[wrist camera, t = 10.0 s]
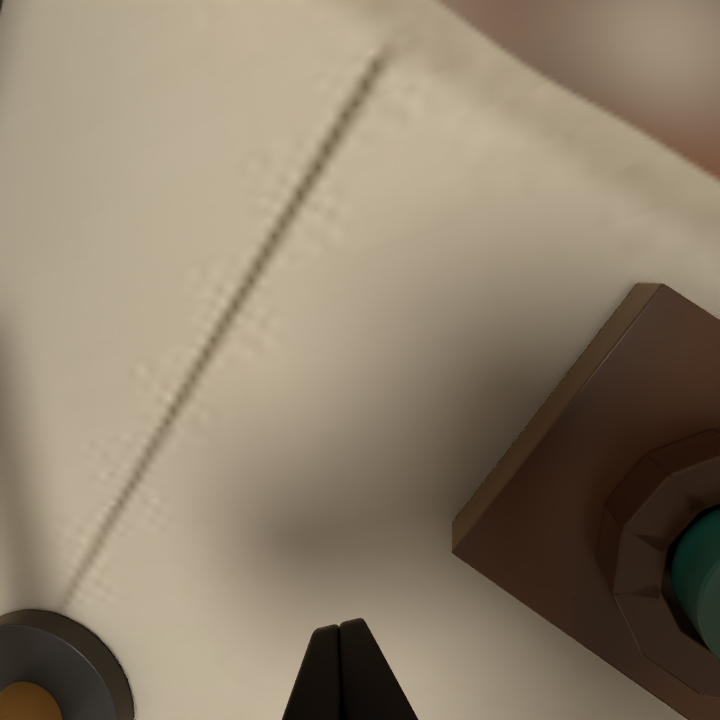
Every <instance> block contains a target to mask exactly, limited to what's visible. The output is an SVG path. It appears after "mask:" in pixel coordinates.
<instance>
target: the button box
mask: <svg viewBox="0 0 720 720" xmlns="http://www.w3.org/2000/svg"><path fill="white" fill-rule="evenodd" d="M719 508H720V320H719V319H718V318H716V317H714V316H713V315H711V314H710V313H708V312H707V311H705V310H704V309H702V308H701V307H699V306H697V305H696V304H694V303H693V302H691V301H690V300H688V299H687V298H685V297H684V296H682V295H680V294H679V293H677V292H676V291H674V290H673V289H671V288H670V287H668V286H667V285H665V284H657V283H637V284H636V285H635V287H634V288H633V289H632V291H631V292H630V293H629V294H628V296H627V297H626V298H625V300H624V301H623V302H622V303H621V305H620V306H619V307H618V309H617V310H616V311H615V313H614V314H613V315H612V316H611V318H610V319H609V320H608V322H607V323H606V324H605V325H604V327H603V328H602V329H601V331H600V332H599V333H598V334H597V336H596V337H595V338H594V340H593V341H592V342H591V344H590V345H589V346H588V347H587V349H586V350H585V351H584V353H583V354H582V355H581V356H580V358H579V359H578V360H577V362H576V363H575V364H574V366H573V367H572V368H571V369H570V371H569V372H568V373H567V375H566V376H565V377H564V378H563V380H562V381H561V382H560V384H559V385H558V386H557V388H556V389H555V390H554V391H553V393H552V394H551V395H550V397H549V398H548V399H547V400H546V402H545V403H544V404H543V406H542V407H541V408H540V410H539V411H538V412H537V413H536V415H535V416H534V417H533V419H532V420H531V421H530V422H529V424H528V425H527V426H526V428H525V429H524V430H523V432H522V433H521V434H520V435H519V437H518V438H517V439H516V441H515V442H514V443H513V444H512V446H511V447H510V448H509V450H508V451H507V452H506V454H505V455H504V456H503V457H502V459H501V460H500V461H499V463H498V464H497V465H496V466H495V468H494V469H493V470H492V472H491V473H490V474H489V476H488V477H487V478H486V479H485V481H484V482H483V483H482V485H481V486H480V487H479V488H478V490H477V491H476V492H475V494H474V495H473V496H472V498H471V499H470V500H469V501H468V503H467V504H466V505H465V507H464V508H463V509H462V510H461V512H460V513H459V514H458V516H457V517H456V518H455V520H454V521H453V522H452V553H453V554H454V555H455V556H457V557H458V558H460V559H461V560H462V561H464V562H465V563H467V564H468V565H470V566H471V567H472V568H474V569H475V570H477V571H478V572H479V573H481V574H482V575H484V576H485V577H487V578H488V579H489V580H491V581H492V582H494V583H495V584H497V585H498V586H499V587H501V588H502V589H504V590H505V591H506V592H508V593H509V594H511V595H512V596H514V597H515V598H516V599H518V600H519V601H521V602H522V603H523V604H525V605H526V606H528V607H529V608H531V609H532V610H533V611H535V612H536V613H538V614H539V615H540V616H542V617H543V618H545V619H546V620H548V621H549V622H550V623H552V624H553V625H555V626H556V627H558V628H559V629H560V630H562V631H563V632H565V633H566V634H567V635H569V636H570V637H572V638H573V639H575V640H576V641H577V642H579V643H580V644H582V645H583V646H584V647H586V648H587V649H589V650H590V651H592V652H593V653H594V654H596V655H597V656H599V657H600V658H601V659H603V660H604V661H606V662H607V663H609V664H610V665H611V666H613V667H614V668H616V669H617V670H618V671H620V672H621V673H623V674H624V675H626V676H627V677H628V678H630V679H631V680H633V681H634V682H636V683H637V684H638V685H640V686H641V687H643V688H644V689H645V690H647V691H648V692H650V693H651V694H653V695H654V696H655V697H657V698H658V699H660V700H661V701H662V702H664V703H665V704H667V705H668V706H670V707H671V708H672V709H674V710H675V711H677V712H678V713H679V714H681V715H682V716H684V717H685V718H687V719H688V720H720V661H719V660H718V659H717V658H716V657H715V656H714V655H713V653H712V652H711V651H710V649H709V648H708V646H707V645H706V644H705V642H704V641H703V639H702V638H701V636H700V635H699V633H698V632H697V630H696V629H695V627H694V626H693V624H692V623H691V621H690V620H689V618H688V617H687V616H686V614H685V613H684V611H683V610H682V608H681V606H680V605H679V603H678V601H677V599H676V596H675V594H674V591H673V586H672V581H671V566H672V560H673V556H674V553H675V550H676V548H677V545H678V543H679V542H680V540H681V538H682V537H683V535H684V534H685V533H686V532H687V530H688V529H689V528H690V527H691V526H692V525H693V524H694V523H695V522H697V521H698V520H699V519H701V518H702V517H703V516H705V515H707V514H708V513H710V512H712V511H714V510H716V509H719Z"/></svg>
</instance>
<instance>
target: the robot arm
mask: <svg viewBox="0 0 720 720" xmlns="http://www.w3.org/2000/svg"><path fill="white" fill-rule="evenodd" d="M282 720H418V718H417V716H416V714H415V713H414V711H413V709H412V707H411V705H410V703H409V701H408V700H407V698H406V696H405V694H404V692H403V690H402V689H401V687H400V685H399V683H398V681H397V679H396V677H395V676H394V674H393V672H392V670H391V668H390V666H389V665H388V663H387V661H386V659H385V657H384V655H383V653H382V652H381V650H380V648H379V646H378V644H377V642H376V640H375V639H374V637H373V635H372V633H371V631H370V629H369V628H368V626H367V624H366V622H365V621H364V619H362V618H357V619H353V620H349V621H345V622H343V623H341V624H340V627H339V626H338V625H336V624H333V625H329V626H325V627H322V628H318V629H316V630H315V631H314V632H313V634H312V636H311V639H310V642H309V644H308V647H307V650H306V653H305V656H304V658H303V661H302V664H301V667H300V670H299V673H298V675H297V678H296V681H295V684H294V687H293V689H292V692H291V695H290V698H289V701H288V704H287V706H286V709H285V712H284V715H283V718H282Z"/></svg>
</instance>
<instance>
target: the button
mask: <svg viewBox="0 0 720 720" xmlns="http://www.w3.org/2000/svg"><path fill="white" fill-rule="evenodd" d="M671 581H672V586H673V591H674V594H675V596H676V599H677V601H678V603H679V605H680V606H681V608H682V610H683V611H684V613H685V614H686V616H687V617H688V618H689V620H690V621H691V623H692V624H693V626H694V627H695V629H696V630H697V632H698V633H699V635H700V636H701V638H702V639H703V641H704V642H705V644H706V645H707V646H708V648H709V649H710V651H711V652H712V653H713V655H714V656H715V657H716V658H717V659H718V660H719V661H720V508H719V509H716V510H714V511H712V512H710V513H708V514H707V515H705V516H703V517H702V518H701V519H699V520H698V521H697V522H695V523H694V524H693V525H692V526H691V527H690V528H689V529H688V530H687V532H686V533H685V534H684V535H683V537H682V538H681V540H680V542H679V543H678V545H677V548H676V550H675V553H674V556H673V560H672V566H671Z"/></svg>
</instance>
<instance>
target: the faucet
mask: <svg viewBox="0 0 720 720" xmlns="http://www.w3.org/2000/svg"><path fill="white" fill-rule="evenodd" d="M0 720H133V706H132V699H131V694H130V690H129V687H128V684H127V681H126V679H125V676H124V674H123V672H122V670H121V668H120V666H119V665H118V663H117V662H116V660H115V658H114V657H113V656H112V654H111V653H110V652H109V650H108V649H107V648H106V647H105V646H104V645H103V644H102V643H101V642H100V641H99V640H98V639H97V638H96V637H95V636H94V635H93V634H91V633H90V632H89V631H88V630H86V629H85V628H83V627H82V626H80V625H79V624H77V623H75V622H73V621H71V620H69V619H68V618H65V617H62V616H60V615H57V614H53V613H49V612H45V611H36V610H25V611H18V612H13V613H10V614H7V615H4V616H2V617H0Z"/></svg>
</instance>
